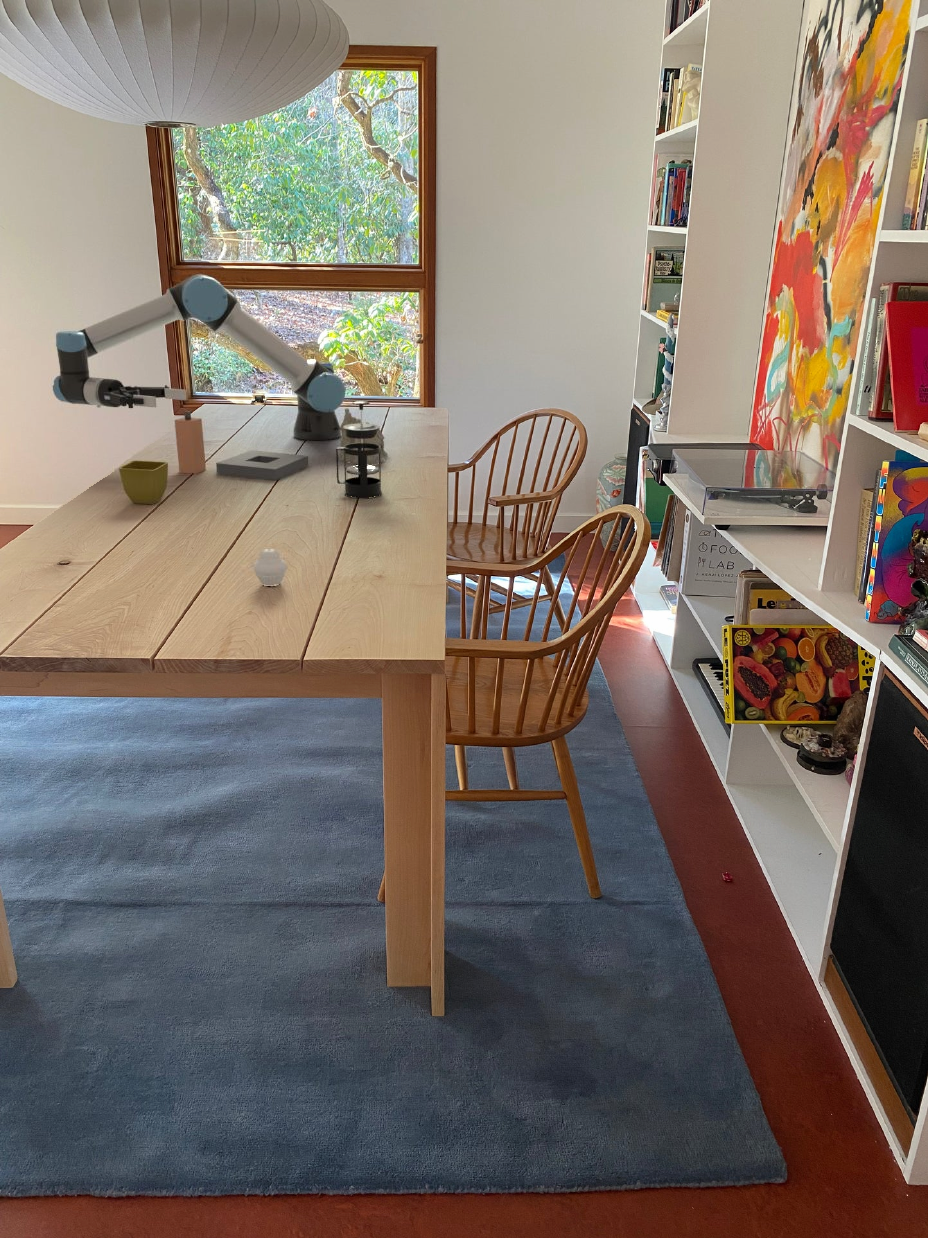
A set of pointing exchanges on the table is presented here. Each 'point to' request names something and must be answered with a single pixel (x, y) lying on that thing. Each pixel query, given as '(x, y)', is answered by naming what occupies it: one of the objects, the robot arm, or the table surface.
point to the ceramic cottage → (346, 440)
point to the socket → (262, 465)
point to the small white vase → (270, 567)
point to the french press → (361, 460)
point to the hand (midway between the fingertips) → (170, 398)
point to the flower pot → (144, 480)
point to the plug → (190, 444)
